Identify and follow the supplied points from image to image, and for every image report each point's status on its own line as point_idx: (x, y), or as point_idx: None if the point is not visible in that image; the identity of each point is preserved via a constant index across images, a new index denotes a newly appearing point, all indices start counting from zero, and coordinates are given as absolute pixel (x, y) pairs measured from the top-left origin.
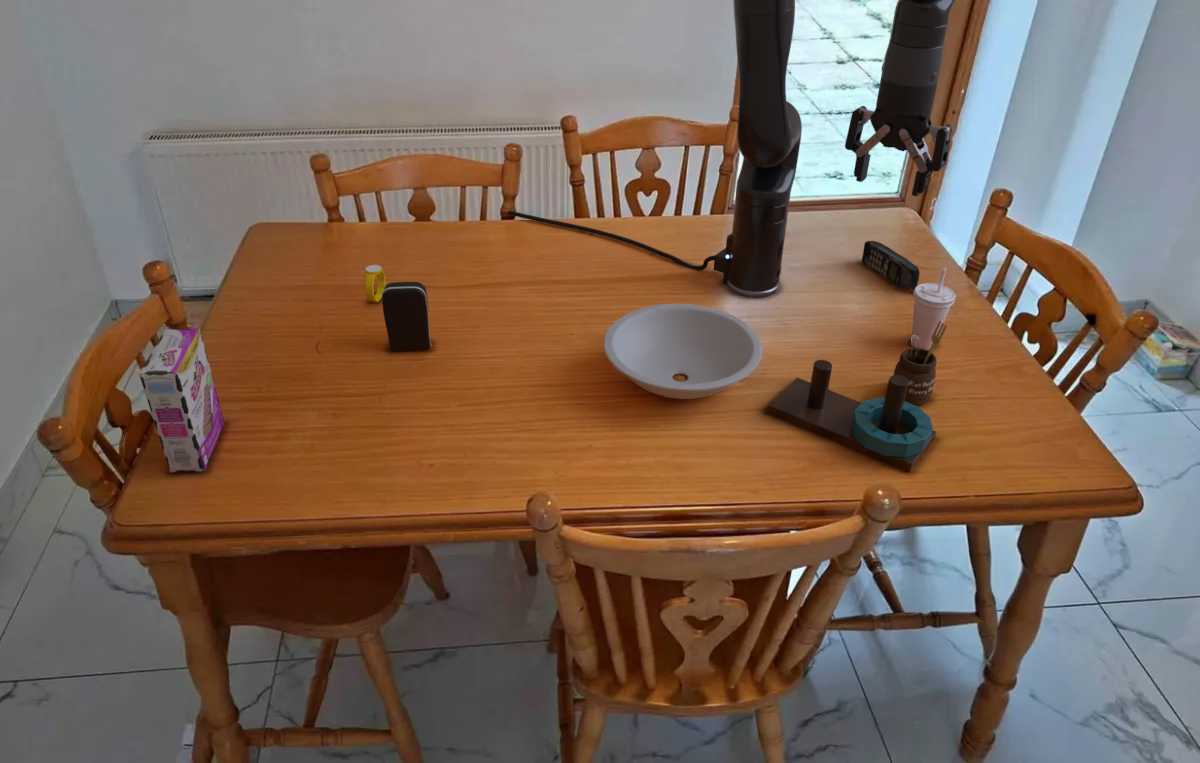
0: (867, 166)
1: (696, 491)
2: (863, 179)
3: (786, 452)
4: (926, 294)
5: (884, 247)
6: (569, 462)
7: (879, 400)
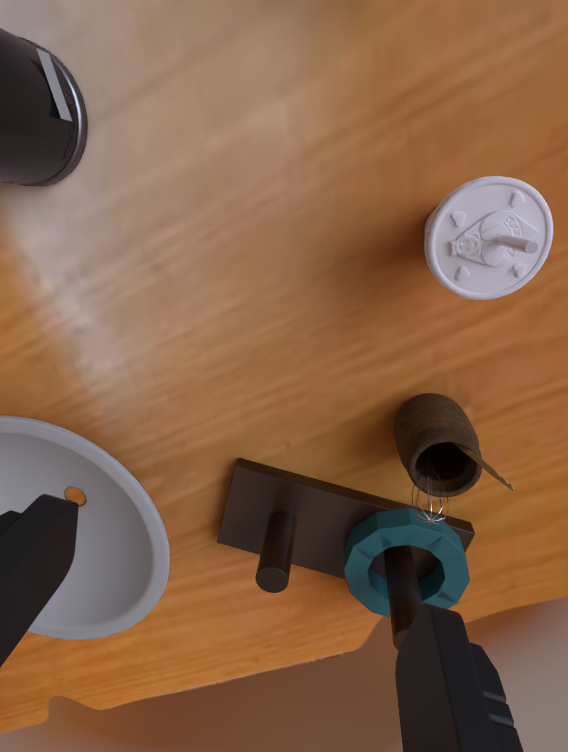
0: (20, 573)
1: (196, 671)
2: (72, 539)
3: (270, 595)
4: (463, 261)
5: None
6: (54, 662)
7: (379, 537)
